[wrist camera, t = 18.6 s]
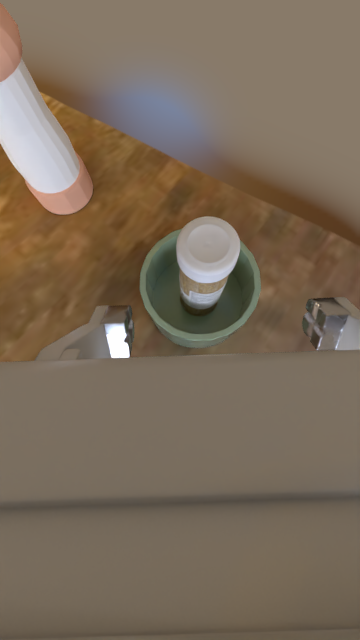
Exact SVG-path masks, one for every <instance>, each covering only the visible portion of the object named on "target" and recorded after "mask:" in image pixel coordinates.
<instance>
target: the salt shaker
mask: <svg viewBox="0 0 360 640" xmlns="http://www.w3.org/2000/svg"><path fill="white" fill-rule="evenodd" d="M21 56H22V44H21V40H20V35H19V30H18V25H17V24H16V23H15V21H14V20H13V18H12V17H11V16H10V14H9V13H8V12H7V10H6V9H5V8H4V6H3V5H2V4H1V3H0V144H1V145H2V147H3V149H4V151H5V152H6V154H7V156H8V158H9V159H10V161H11V162H12V164H13V165H14V167H15V168H16V169H17V170H18V171H19V172H20V174H21V175H22V176H23V177H24V178H25V183H26V185H27V186H28V188H29V189H30V191H31V192H32V193H33V195H34V196H35V197H36V198H37V199H38V201H39V202H40V203H41V204H42V206H43V207H44V208H46V209H47V210H48V211H50V212H52V213H55V214H64V215H67V214H71V213H74V212H77V211H78V210H80V209H82V208H83V207H84V206H85V205H86V204H87V203H88V202H89V200H90V198H91V196H92V193H93V184H92V180H91V178H90V176H89V173H88V171H87V169H86V167H85V165H84V163H83V161H82V159H81V158H80V156H79V155H78V154H77V153H76V152H75V151H74V149H73V147H72V145H71V142H70V140H69V138H68V136H67V134H66V133H65V131H64V130H63V128H62V127H61V125H60V124H59V122H58V121H57V120H56V118H55V117H54V115H53V114H52V112H51V111H50V109H49V108H48V107H47V105H46V104H45V102H44V100H43V98H42V96H41V94H40V92H39V90H38V89H37V87H36V85H35V83H34V81H33V79H32V77H31V75H30V73H29V72H28V70H27V67H26V65H25V63H24V61H23V60H22V58H21Z"/></svg>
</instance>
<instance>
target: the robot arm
mask: <svg viewBox="0 0 360 640" xmlns="http://www.w3.org/2000/svg"><path fill="white" fill-rule="evenodd" d="M306 309H307V311H308V312H307V313H306V314H305V315H304V316H303V321H302V326H303V330H304V333H305V334H306V335H307V336H309V337H310V338H311V340H310V342H311V343H312V345H313V346H314V347H315V349H316V350H330V351H302V352H274V353H245V354H216V355H188V356H159V357H130V355H131V350H132V344H131V343H132V342H133V341H134V323H133V321H132V320H131V317H132V310H131V306H130V305H119V306H108V305H107V306H97V307H96V309H95V311H94V313H93V315H92V317H91V319H90V321H89V323H88V324H85V325H83V326H81V327H79V328H78V329H76V330H74V331H72V332H71V333H69V334H67V335H66V336H64V337H62V338H60V339H59V340H57V341H55V342H53V343H52V344H50V345H48V346H46V347H45V348H43V349H42V350H41V351H40V353H39V354H38V356H37V357H36V359H35V360H34V361H18V362H0V640H360V310H358V309H357V308H356V307H355V306H354V305H353V304H352V303H351V302H350V301H348V300H347V299H346V298H345V297H335V298H317V299H309V300H308V302H307V304H306ZM120 357H130V358H120Z"/></svg>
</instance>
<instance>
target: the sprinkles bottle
mask: <svg viewBox="0 0 360 640" xmlns="http://www.w3.org/2000/svg"><path fill="white" fill-rule="evenodd" d="M176 253H177V261H178V264H179V267H180V273H179V281H180V302H181V305H182V307H183V308H184V310H185V311H187V312H188V313H189V314H191V315H194V316H205V315H208V314H210V313H211V312H212V311H213V310H214V309H215V308H216V306H217V304H218V300H219V298H220V296H221V293H222V291H223V289H224V286H225V284H226V282H227V279H228V275H229V274H230V273H231V271H232V270H233V268H234V267H235V264H236V262H237V259H238V256H239V253H240V240H239V237H238V234H237V232H236V231H235V229H234V228H233V227H232V226H231V225H230V224H229V223H227V222H226V221H224V220H222V219H220V218H216V217H200V218H197V219H194V220H192V221H191V222H189V223H188V224H186V225H185V226H184V227H183V229H182V230H181V232H180V234H179V236H178V238H177V244H176Z"/></svg>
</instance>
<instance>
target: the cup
mask: <svg viewBox="0 0 360 640" xmlns="http://www.w3.org/2000/svg"><path fill="white" fill-rule="evenodd" d="M181 230H182V229H180V230H176V231H173V232H171V233H170V234H168V235H167V236H165V237H164V238H162V239H161V240H159V241H158V242H157V243H156V244H155V246H154V247H153V248H152V249H151V251H150V252H149V253H148V254H147V256H146V258H145V261H144V264H143V266H142V269H141V272H140V293H141V296H142V299H143V303H144V306H145V308H146V310H147V312H148V314H149V316H150V317H151V319H152V321H153V322H154V324H155V325H156V327H157V328H158V329H159V331H160V332H161V333H162V334H163V335H164V336H165V337H167V338H168V339H169V340H171V341H173V342H174V343H176V344H179V345H181V346H185V347H190V348H206V347H210V346H214V345H216V344H219V343H221V342H223V341H224V340H226V339H227V338H228V337H230V336H231V335H233V334H234V333H235V332H236V331H237V330H238V329H239V328H240V327H241V326H242V325H243V324H244V323H245V322H246V321H247V319H248V318H249V317H250V315H251V314H252V312H253V311H254V309H255V308H256V305H257V301H258V298H259V294H260V291H261V284H260V272H259V269H258V266H257V264H256V261H255V259H254V256H253V254H252V253H251V252H250V251H249V250H248V248H247V247H246V246H245V245H244V244H243V243H242V241H240V253H239V256H238V259H237V262H236V264H235V267H234V268H233V270H232V271H231V273H230V274H229V275H228V279H227V282H226V284H225V286H224V289H223V291H222V293H221V296H220V298H219V300H218V304H217V306H216V308H215V309H214V310H213V311H212V312H211V313H210V314H208V315H205V316H194V315H191V314H189V313H188V312H187V311H185V310H184V308H183V307H182V305H181V302H180V281H179V273H180V267H179V264H178V261H177V253H176V244H177V238H178V236H179V234H180V232H181Z"/></svg>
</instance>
